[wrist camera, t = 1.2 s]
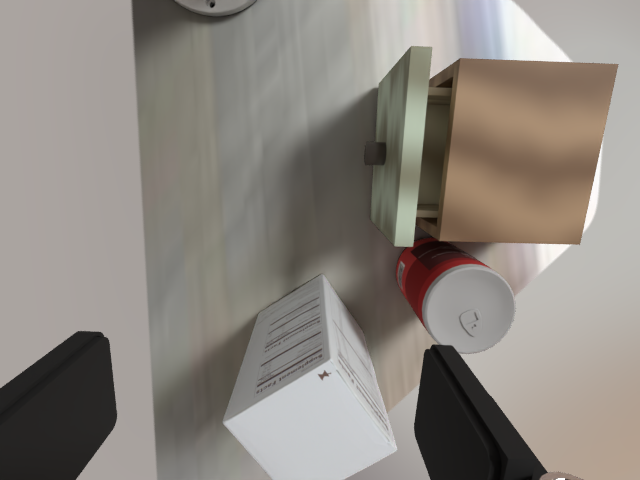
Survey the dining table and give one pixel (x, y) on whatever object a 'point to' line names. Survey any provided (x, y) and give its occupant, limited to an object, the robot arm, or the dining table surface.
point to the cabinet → (520, 149)
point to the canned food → (455, 295)
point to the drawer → (408, 147)
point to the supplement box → (309, 391)
